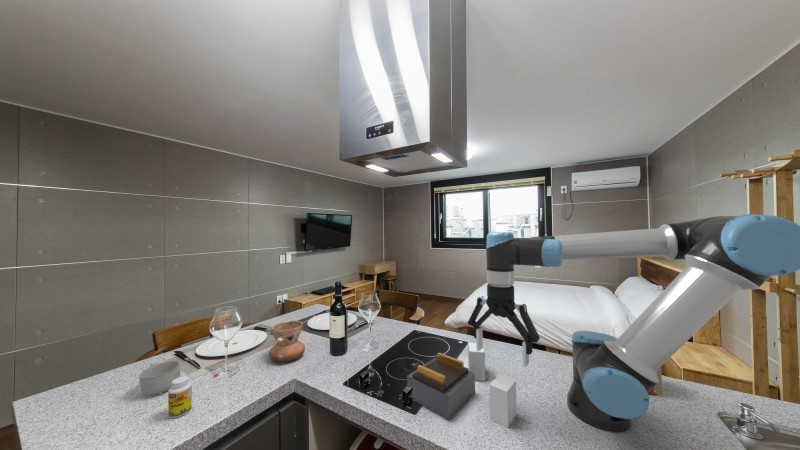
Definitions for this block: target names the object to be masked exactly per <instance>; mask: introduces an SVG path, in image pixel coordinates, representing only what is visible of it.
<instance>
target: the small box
mask: <svg viewBox="0 0 800 450" xmlns="http://www.w3.org/2000/svg"><path fill="white" fill-rule="evenodd" d="M467 354H468V355H467V357H468V359H467V360H468V369H469V371H471V372H473V373H475V381H480V382H486V381H487V379H486V378H487V377H486V353H485V348H484V347H483V348H482V349H481V350H480V351H477V346H476V342H470V341H469V342H467Z"/></svg>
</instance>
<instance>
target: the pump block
mask: <svg viewBox="0 0 800 450" xmlns="http://www.w3.org/2000/svg"><path fill="white" fill-rule="evenodd" d="M517 403H518V402H517V380H516V379H512V378H510V377H508V376H506V375H502V374H498V375H497V376H496V377H495V378H494V379H493V380H492V381H491V382H490V384H489V416H490V417H489V418H490V420H491V421H493V422H495V423H497V424H499V425H500V426H503V427H504V428H508V429H509V427H510V426H511V424H512V422H513V421H514V419H515V417H516V416H517V413H518V412H517V411H518V410H517V409H518V408H517V407H518V406H517Z"/></svg>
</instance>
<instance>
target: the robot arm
mask: <svg viewBox="0 0 800 450" xmlns="http://www.w3.org/2000/svg"><path fill="white" fill-rule="evenodd" d="M485 249H486V282H487V285H486V296H487V298H485V297H484V296H483V295H482V296H479V297H477V299H476V305H475V307H474V308H473V311H472V312H471V314H470V317H469V319H468V321H467V325H469V326H472V328H473V338H474V339H475V340H476V341H475V343H476V346H477V351H480V350H481V349H482V348H484V345H483V343H484V338H483V337H484V336H483V335H484V334H483V327H481V326H482V324H484V322H485V321H487V320H488V319H489V317H490V316H491V315H493V316H494V317H495V316H496V317H501V318H505V319H507V320H508V321H509V322H510V323H512V325H513V326H514V328H515V329H516V330H517V332H518V334H519V335H520V336H521V338H523V341H522V344H521V345H522V367H525V368H526V367H527V366H528V365H529V364H530V359H529V358H530V355H531V354H532V353H533V343H535V344H536V343H538V342H539V341H540V339H541V337H540V335H539V332H538V331H537V329H536V327H535V325H534V322H533V320H532V319H531V317H530V315H529V312H528V307H527V304H525V303H522V304H516V302H515V286H514V284H515V268H514V267H515V266H529V267H530V266H532V267H543V268H544V267H546V268H551V267H552V268H553V267H554V268H556V267H558V268H559V267H560V266H562V264H563V260H584V259H585V260H586V259H591V260H593V259H615V258H618V259H619V258H642V257H643V258H644V257H646V258H647V257H648V258H649V257H652V258H653V257H664V258H665V259H667V260H669V261H671V260H674V261H675V260H685V262H686V266H685V268H683V270H681V272H680V273H678V275H677V276H676V277H675V278H674V279H673V280H672V281H671V282H670V283H669V284H668V285H667V286H666V287H665V289H663V291H662V292H661V293H659V295H658V296H657V297H656V298H655V299H654V300H653V301H652V302H651V303H650V304H649V305H648V306H647V307H646V309H645V310H644V311H643V312H642V313H641V314H639V316H638V317H637V318H636V319H635V320H634V321H633V322H632V323H631V324H630V325H629V326H628V327H627V328H626V330H624V332H622V333H621V335H620V336H618V338H617V337H616V336H613V335H609V334H606V333H602V332H598V331H590V330H589V331H588V330H577V331H574V332H573V333H572V336H571V337H572V338H571V344H572V345H571V346H572V373H573V374H572V375H573V376H572V377H573V379H572V382H571V384H570V387H569V390H568V392H567V396H566V403H567V407H568V409H569V410H570V412H571V413H572V415H573V414H574V415H575V416H576V417H577V418H578V419H579V420H581V421H582V422H584V423H587V424H588V425H590V426H593V427H594V428H598V429H601V430H605V431H609V432H626V431H629V429H630V428H631V427H632V420H633V419H638V418H639V417H642V416H643V415H645V414H646V413H647V411H648V409H649V407H650V395H648V392H649V391H650V390H651V389H652V388H653V387H654V386H655V385H656V384H657V383H658V382H659V380H658V377H657V373H656V372H657V370H658V369H659V368H660V367H661V368H662V366H663V365H664V364H665V363H666V362H667V361H668V360H670V358H671V357H672V356H673V355H675V354H676V353H677V352H678V350H680V348H682V347H683V346H684V345H685V344H686V343H687V342H688V341H689V340H690V339H691V338H692V337H693V336H694V335H695V334H696V333H697V332H699V331H700V330H701V328H703V327H704V325H706V324H707V323H708V322H709V321H710V320H711V319H712V318H713V317H714V316H715V315H716V314H717V313H719V311H720V310H721V309H723V307H725V305H726V304H728V303H729V302H730V300H732V299H733V298H734V296H736V295H737V294H738V293H739V292H741V291H748V290H751V291H754V290H759V288H760V287H761V286H762V285H764V284H765V283H766V282H767V281H768V280H769V279H770V278H771V277H773V276H782V275H784V276H785V275H788V274H792V273H795V272H797V271H799V270H800V224H798V223H796V222H794V221H792V220H790V219H787V218H784V217H781V216H776V215H770V214H769V215H768V214H760V213H759V214H758V213H747V214H746V213H745V214H742V215H726V216H723V215H721V216H720V215H719V216H711V217H704V218H699V219H695V220H689V221H682V222H675V223H665V224H661V225H660V226H659V227H657V228H646V229H645V228H644V229H631V230H630V229H629V230H616V231H604V232H603V231H602V232H589V233H577V234H564V235H563V234H562V235H548V236H531V237H530V238H523V239H522V238H515V237H514V233H513V232H511V231H510V232H509V231H492V232H489V233H487V234H486V246H485ZM484 305H486V306H487V307H488V309H487V310H486V311H485V312H484V314H483V315H482V316H480V318H478V317H479V315H480V312H481V310H483V309H482V308H483V307H484ZM515 310H517V312H518V313H519V315H520V318H521V320H522V321H521V320H520V319H519V318H518V316H517V314H516V312H515ZM477 318H478V320H477ZM476 320H477V321H476ZM522 322H523V323H524V324H523V323H522Z"/></svg>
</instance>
